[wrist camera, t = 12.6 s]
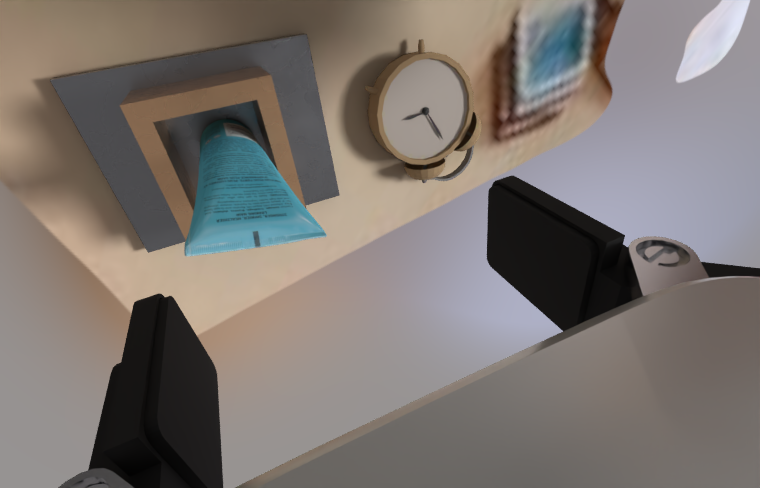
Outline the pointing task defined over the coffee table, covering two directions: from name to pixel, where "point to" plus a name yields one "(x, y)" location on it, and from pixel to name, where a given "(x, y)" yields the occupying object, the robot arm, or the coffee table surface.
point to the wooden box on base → (199, 126)
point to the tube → (242, 196)
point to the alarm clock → (424, 113)
